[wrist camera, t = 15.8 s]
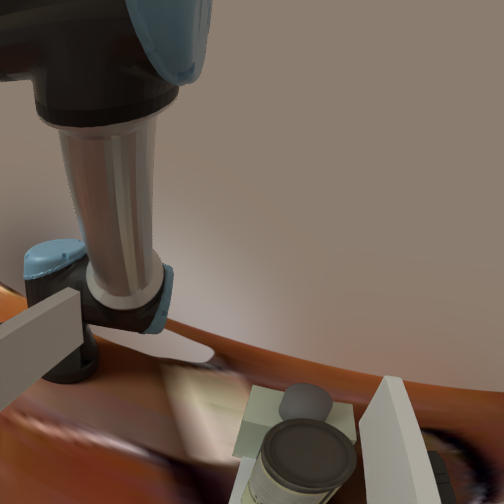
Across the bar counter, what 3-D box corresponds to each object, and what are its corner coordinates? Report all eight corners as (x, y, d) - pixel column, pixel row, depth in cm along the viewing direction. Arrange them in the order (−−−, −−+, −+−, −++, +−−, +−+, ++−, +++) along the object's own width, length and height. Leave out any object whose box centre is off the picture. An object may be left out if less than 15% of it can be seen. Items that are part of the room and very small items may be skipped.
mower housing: (331, 541, 23) (375, 506, 20) (209, 523, 25) (221, 486, 22) (332, 439, 44) (359, 390, 40) (242, 421, 45) (256, 370, 42)
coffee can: (245, 471, 35) (267, 410, 31) (314, 481, 34) (352, 423, 30) (232, 528, 25) (255, 481, 21) (313, 538, 24) (361, 492, 20)
